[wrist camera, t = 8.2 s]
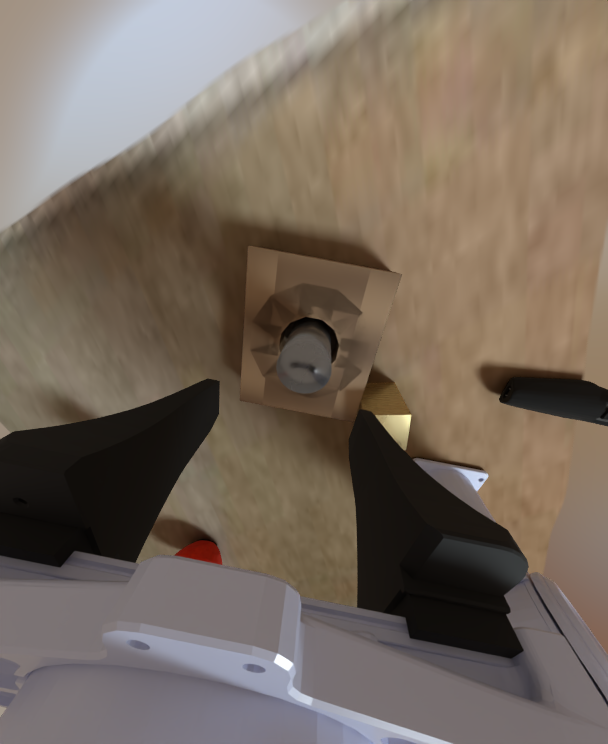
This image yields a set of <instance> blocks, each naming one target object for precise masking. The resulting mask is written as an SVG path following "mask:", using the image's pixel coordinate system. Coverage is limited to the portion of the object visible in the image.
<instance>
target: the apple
mask: <svg viewBox="0 0 608 744" xmlns="http://www.w3.org/2000/svg"><path fill="white" fill-rule="evenodd" d="M174 556H180V557H185V558H190V559H195V560H200V561H205V562H210V563H215V564H220V565H222V559H221V555H220V551H219V549H218V547H217V546H216V544H214V543H213V542H211V541H204V540H200V541H196V542H194V543H192V544H190V545H188V546H186V547H185V548H183V549H182V550H180V551H179V552H178V553H176V554H175V555H174Z"/></svg>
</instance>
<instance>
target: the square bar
mask: <svg viewBox="0 0 608 744" xmlns="http://www.w3.org/2000/svg"><path fill="white" fill-rule="evenodd" d="M359 409H362V410H367V411H371V412H372V413H373V414H374V415H375V416H376V418H377V419H378V420H379V421H380V423H381V424H382V425H383V426H384V428H385V429H386V430H387V431H388V433H389V434H390V435H391V436H392V438H393V439H394V440H395V441H396V442H397V443H398V444H399V446H400V447H401V448H402V449H403V450H406V448H407V441H408V434H409V428H410V421H411V413H410V411H409V409H408V408H407V406H406V404H405V402H404V400H403V398H402V396H401V394H400V392H399V390H398V388H397V386H396V384H395V382H388V383H366V386H365V389H364V392H363V396H362V399H361V402H360V405H359V408H358V411H359ZM358 411H357V414H358ZM357 414H356V416H357Z"/></svg>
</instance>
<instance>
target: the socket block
mask: <svg viewBox="0 0 608 744" xmlns="http://www.w3.org/2000/svg"><path fill="white" fill-rule="evenodd" d="M401 277H402V274H399V273H395V272H392V271H387V270H382V269H376V268H371V267H366V266H360V265H355V264H349V263H344V262H339V261H333V260H328V259H323V258H317V257H312V256H307V255H301V254H296V253H291V252H285V251H280V250H275V249H269V248H264V247H257V246H248V255H247V274H246V293H245V312H244V331H243V350H242V369H241V387H240V401H245V402H250V403H255V404H261V405H266V406H271V407H276V408H282V409H287V410H292V411H297V412H303V413H308V414H313V415H318V416H324V417H329V418H334V419H339V420H345V421H350V422H354V420H355V417H356V414H357V411H358V408H359V405H360V402H361V399H362V396H363V392H364V389H365V386H366V383H367V380H368V377H369V374H370V371H371V368H372V365H373V362H374V359H375V356H376V353H377V350H378V347H379V344H380V341H381V338H382V334H383V331H384V328H385V325H386V322H387V319H388V316H389V313H390V310H391V307H392V304H393V301H394V298H395V295H396V292H397V289H398V286H399V283H400V280H401ZM304 317H310V318H315V319H320V320H323V321H324V322H325V323H326V324H328V326H329V328H330V338H331V365H332V372H331V377H330V379H329V381H328V383H327V384H326V385H325V386H324V387H323V388H322V389H320V390H318V391H316V392H313V393H307V394H303V393H297V392H294V391H292V390H290V389H288V388H287V387H286V386H285V385H283V383H282V382H281V381H280V379H279V377H278V374H277V370H276V365H277V360H278V358H279V356H280V354H281V352H282V349H283V347H284V345H285V343H286V341H287V339H288V337H289V335H290V333H291V331H292V329H293V326H294V325H295V323H296V322H297V321H298V320H299V319H301V318H304Z"/></svg>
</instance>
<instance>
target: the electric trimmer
mask: <svg viewBox="0 0 608 744" xmlns="http://www.w3.org/2000/svg"><path fill="white" fill-rule="evenodd" d="M499 401H500V402H501V403H504V404H507V405H511V406H515V407H519V408H523V409H528V410H532V411H537V412H541V413H545V414H550V415H554V416H559V417H563V418H570V419H576V420H582V421H586V422H591V423H596V424H600V425H604V426H608V390H607V389H605V388H602V387H599V386H597V385H596V384H594V383H591V382H588V381H583V380H571V379H548V378H524V377H513V378H511V379H510V381H509V383H508V384H507V386H506V388H505V389H504V391H503V393H502V394H501V396H500V398H499Z"/></svg>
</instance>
